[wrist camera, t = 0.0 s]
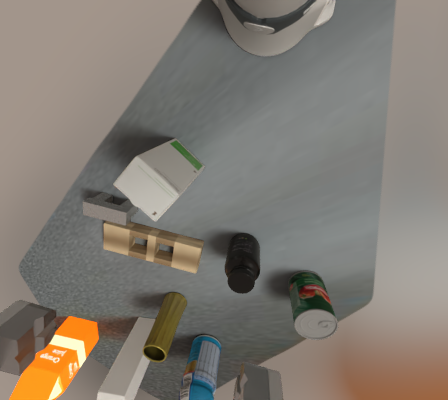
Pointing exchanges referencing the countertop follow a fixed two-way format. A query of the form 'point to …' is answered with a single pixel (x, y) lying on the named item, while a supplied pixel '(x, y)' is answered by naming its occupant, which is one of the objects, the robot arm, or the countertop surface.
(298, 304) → the canned tomato
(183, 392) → the beverage bottle
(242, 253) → the supplement bottle
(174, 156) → the skincare box
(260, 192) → the countertop surface
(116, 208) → the grey concrete brick
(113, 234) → the flat wooden block
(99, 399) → the milk
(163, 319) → the vase
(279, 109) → the countertop surface
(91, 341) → the orange juice
